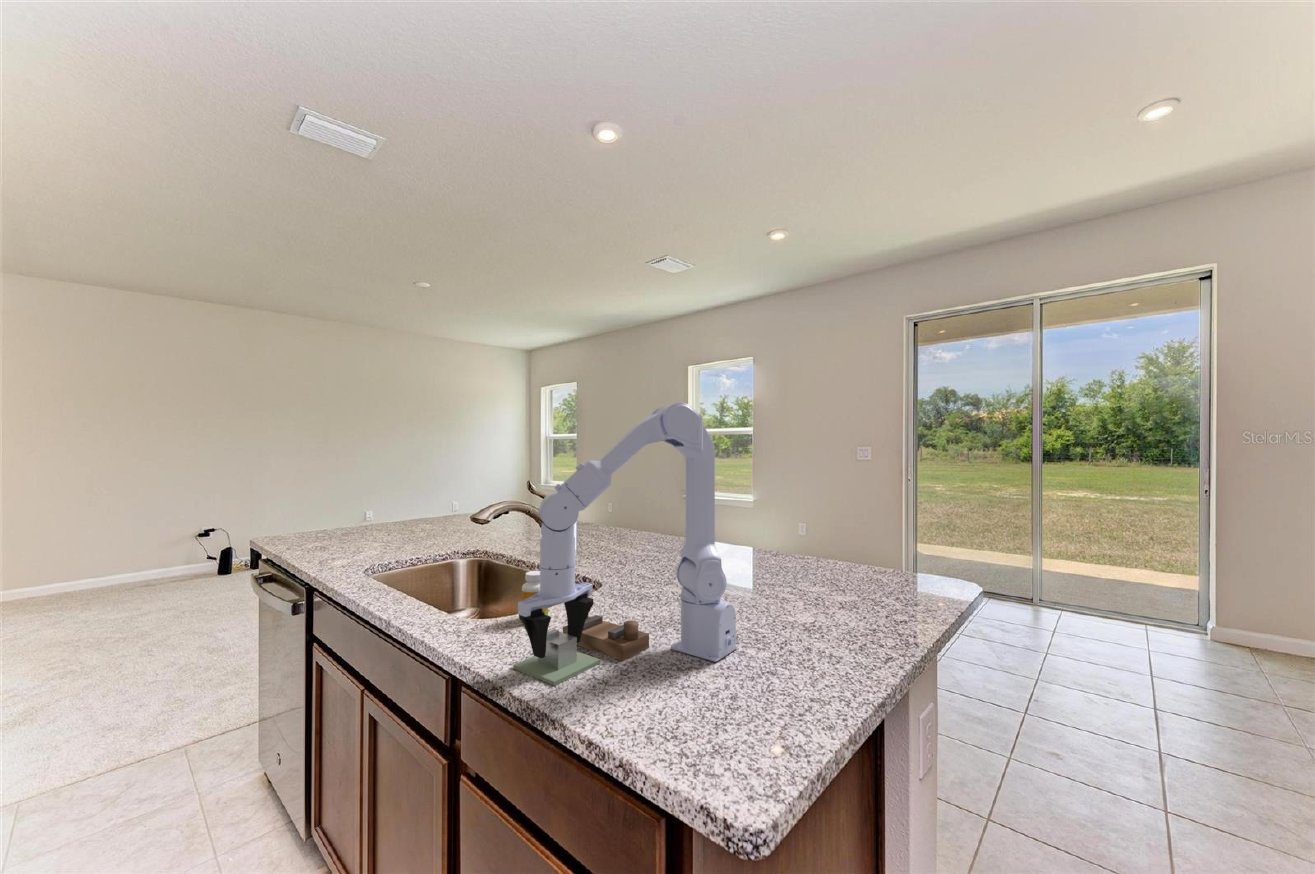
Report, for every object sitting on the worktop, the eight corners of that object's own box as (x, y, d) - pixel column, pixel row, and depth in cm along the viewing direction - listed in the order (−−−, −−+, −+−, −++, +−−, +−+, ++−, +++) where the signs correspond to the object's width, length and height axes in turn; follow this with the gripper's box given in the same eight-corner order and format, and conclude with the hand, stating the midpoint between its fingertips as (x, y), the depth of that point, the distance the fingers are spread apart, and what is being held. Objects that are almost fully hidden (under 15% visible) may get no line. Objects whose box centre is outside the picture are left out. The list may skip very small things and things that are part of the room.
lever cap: (576, 661, 83) (576, 633, 83) (558, 670, 79) (558, 641, 80) (556, 654, 86) (556, 627, 86) (537, 662, 82) (537, 634, 83)
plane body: (649, 647, 90) (649, 611, 90) (623, 660, 84) (623, 622, 85) (589, 629, 99) (589, 596, 99) (562, 640, 93) (562, 605, 94)
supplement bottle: (541, 624, 102) (541, 576, 102) (517, 622, 103) (517, 575, 103) (552, 616, 107) (552, 570, 107) (528, 614, 108) (529, 569, 109)
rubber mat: (600, 663, 83) (600, 659, 84) (554, 685, 76) (554, 681, 76) (559, 648, 90) (559, 645, 90) (513, 668, 82) (513, 664, 82)
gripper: (573, 555, 91) (572, 630, 91) (505, 570, 80) (505, 657, 79) (601, 560, 87) (601, 639, 87) (534, 577, 75) (534, 668, 75)
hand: (557, 648), depth 83 cm, fingers open, 7 cm apart
